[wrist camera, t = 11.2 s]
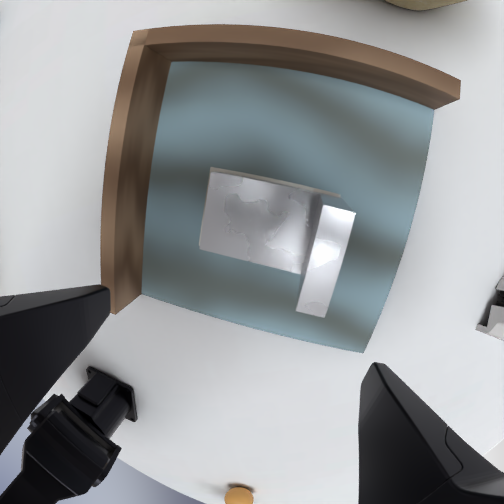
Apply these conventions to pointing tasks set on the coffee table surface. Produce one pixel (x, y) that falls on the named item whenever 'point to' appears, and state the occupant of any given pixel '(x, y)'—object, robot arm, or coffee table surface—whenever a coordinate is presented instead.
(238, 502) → the figurine
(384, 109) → the corner arena
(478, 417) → the coffee table surface
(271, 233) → the aluminium bracket
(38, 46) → the coffee table surface
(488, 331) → the grey arched casing
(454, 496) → the robot arm
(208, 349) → the coffee table surface
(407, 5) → the plant pot
